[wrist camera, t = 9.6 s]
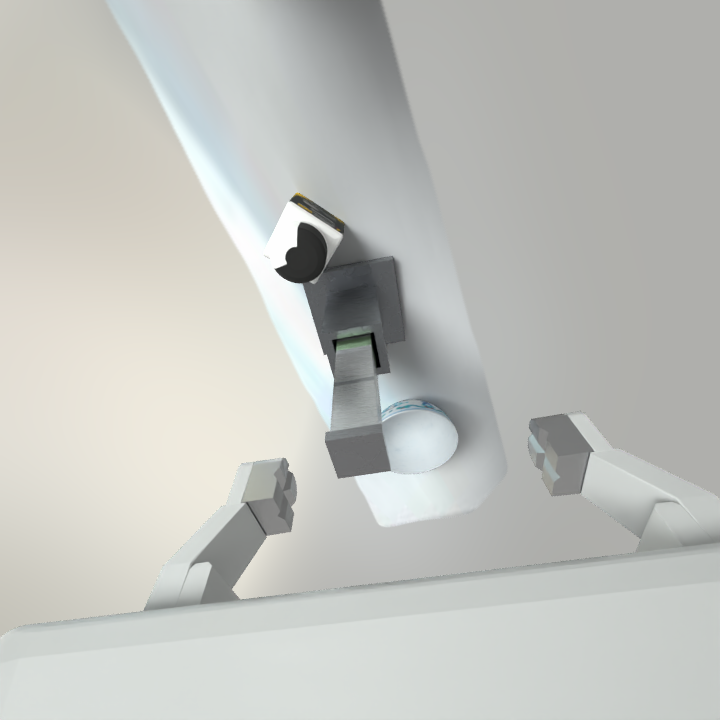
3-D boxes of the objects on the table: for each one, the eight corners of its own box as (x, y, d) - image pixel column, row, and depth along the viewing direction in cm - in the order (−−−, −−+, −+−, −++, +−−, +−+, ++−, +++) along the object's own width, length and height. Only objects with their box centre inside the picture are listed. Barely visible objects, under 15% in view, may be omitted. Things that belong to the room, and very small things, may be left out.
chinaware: (445, 374, 61) (456, 403, 54) (450, 436, 69) (460, 467, 63) (359, 388, 62) (360, 418, 56) (374, 447, 70) (376, 479, 64)
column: (335, 317, 46) (324, 441, 28) (370, 310, 46) (382, 432, 28) (343, 346, 49) (338, 478, 31) (376, 340, 49) (391, 470, 30)
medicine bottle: (345, 222, 47) (343, 248, 37) (319, 267, 50) (311, 301, 40) (297, 190, 45) (281, 208, 35) (272, 239, 48) (251, 269, 38)
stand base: (302, 273, 51) (287, 315, 39) (392, 255, 50) (404, 293, 38) (324, 349, 58) (318, 403, 46) (404, 335, 57) (417, 387, 45)
